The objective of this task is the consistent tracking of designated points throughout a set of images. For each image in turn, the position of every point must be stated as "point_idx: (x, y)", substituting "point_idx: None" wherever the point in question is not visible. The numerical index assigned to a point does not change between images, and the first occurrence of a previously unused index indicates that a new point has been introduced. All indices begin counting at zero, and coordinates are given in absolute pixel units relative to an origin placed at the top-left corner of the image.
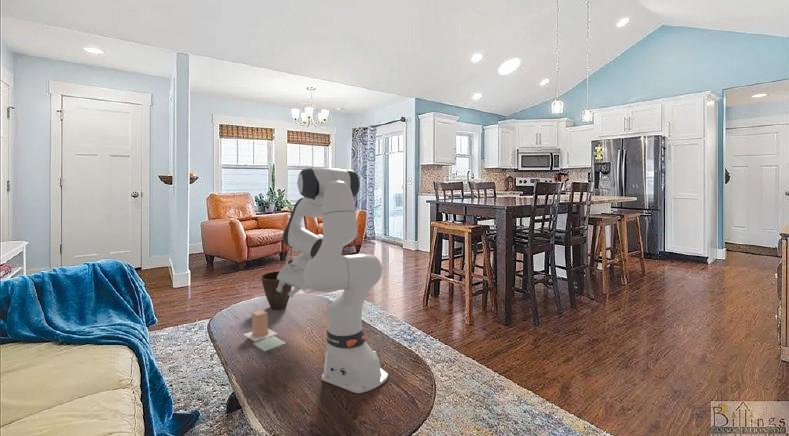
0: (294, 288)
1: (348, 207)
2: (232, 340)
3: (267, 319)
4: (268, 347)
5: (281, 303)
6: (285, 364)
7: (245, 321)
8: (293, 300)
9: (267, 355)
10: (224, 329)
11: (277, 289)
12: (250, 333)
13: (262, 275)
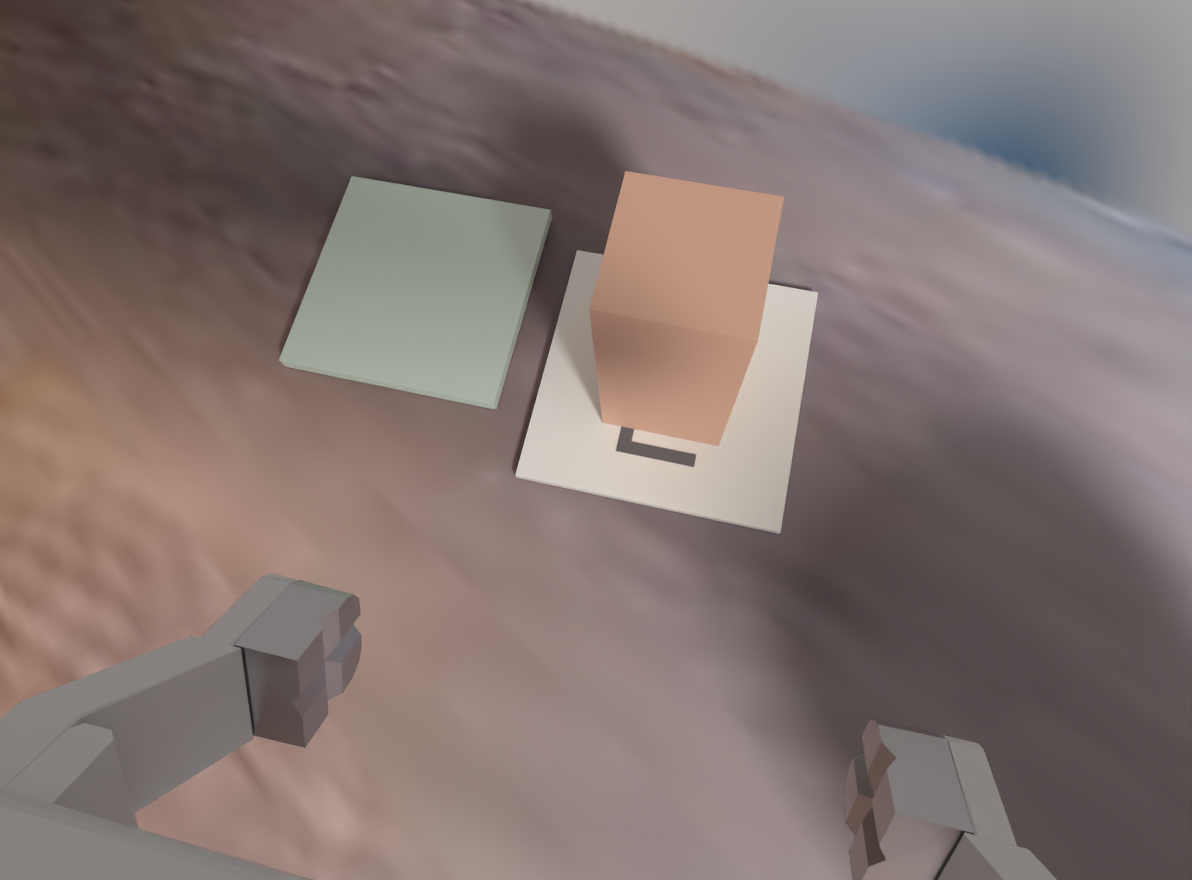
0: (71, 717)
1: None
2: (785, 183)
3: (595, 352)
4: (362, 226)
5: None
6: (79, 148)
7: (1156, 539)
8: None
9: (297, 166)
10: (1102, 284)
11: (912, 738)
12: (769, 339)
13: None
